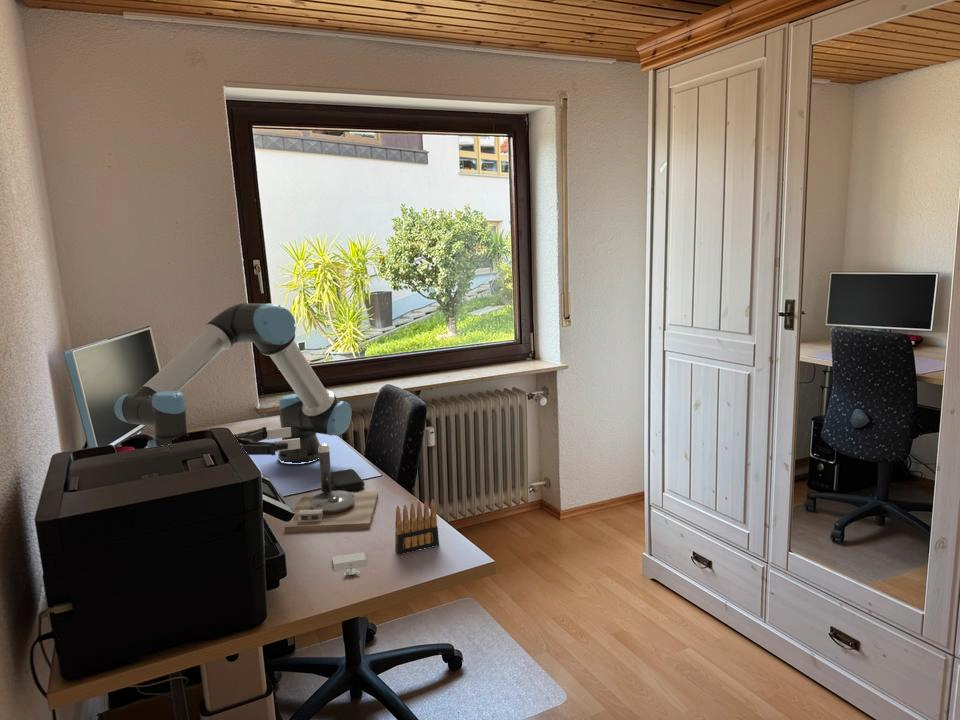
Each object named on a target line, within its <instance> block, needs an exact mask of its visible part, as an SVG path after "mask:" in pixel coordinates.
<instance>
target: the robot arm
mask: <svg viewBox="0 0 960 720" xmlns="http://www.w3.org/2000/svg"><path fill="white" fill-rule="evenodd" d="M295 319H296V318H295V317H294V315H293V313H292V312H291V311H290V310H289V309H288V308H287V307H286V306H284V305H280V304H276V303H271V302H270V303H269V302H268V303H250V302H249V303H247V302H240V303H236V304H234V305H232V306H228V308H226V309H224V310H223V311H221V312H220V313H218V314H216V315H215V316H214V317H213V318H212V319H211V320H209V321H208V322H207V323H206V324H205V325H204V326H203V327H202V332H201V334H199V335H198V336H197V337H196V338H194V340H193V341H191V342H190V343H189V344H188V345H187V346H186V347H185V348H184V349H182V350H181V351H180V352H179V353H177V355H176V356H175V357H173V358H172V359H171V360H170V361H169V362H168V363H167V364H165V366H164V367H162V368H161V369H160V370H159V371H158V372H157V373H156V374H155V375H153V377H151V378H150V379H148V381H147V382H146V383H145V384H143V385H142V386H141V387H140V388H139V389H138V390H137V391H136V392H134V393H128V394H124V395H121V396H120V397H118V399H117V400H116V402H115V404H114V407H113V408H114V409H113V410H114V414H115V416H116V418H117V419H118V420H120V421H121V422H125V423H128V424H131V425H141V426H146V427H147V426H148V427H153V428H154V438H153V439H150V440H148V442H147V449H148V448H149V447H154V446H161V445H168V444H171V443H172V440H173V441H174V440H175V439H178V438H179V437H181V436H183V435H185V434H187V435H188V426H187V405H186V403H185V402H186V400H185V395H184V393H183V392H181V390H182V389H183V388H184V387H185V386H186V385H188V383H189V382H190V381H192V379H194V378H195V377H196V376H197V375H198V374H199V373H200V372H202V370H203V369H204V368H206V367H207V365H209V364H210V363H211V362H212V361H213V360H214V359H215V358H216V357H217V356H218V355H219V354H220V353H221V352H222V351H228V350H229V349H230V348H231V347H233V346H234V345H236V344H239V343H241V342H242V343H243V342H244V343H253V344H254V345H255V346H256V348H257V349H258V350H259V352H260V353H261V354H262V355H264V356H269V358H270V359H271V360H272V362H273V363H274V365H275V366H276V367H277V369H278V370H279V371H280V373H281V374H282V376H283V377H284V379H285V380H286V382H287V383H288V385H289V386H290V387H291V389H292V390H293V392H294V393H292V394H289V395H288V394H287V395H285V396H282V397H281V398H280V399H279V402H278V405H279V408H278V411H279V419H280V420H279V422H280V427H279V428H272V429H267V427H266V426H262V427H261V428H257V429H253V430H248V431H245V432H239V433H234V434H233V435H234V436H235V438H236V439H237V440H238V442H239V443H240V444H241V446H242V447H243V449H244V450H245V451H246V452H247V454H248V455H247V456H252V455H253V456H258V455H259V456H264V455H265V456H276V453H277V452H278V454H277V455H278V456H277V457H278V458H279V459H280V460H281V461H284V462H292V463H301V462H309V461H313V460H316V459H318V458H319V451H318V448H319V446H320V445H321V444H320V441H319V438H318V436H317V434H322V435H327V436H330V437H331V436H335V437H336V436H341V435H342V434H344V433H346V430H347V429H348V428H349V426H350V423H351V421H352V408H351V406H350V404H349V402H347V401H344V400H339V399H338V397H337V396H336V395H335V393H334V392H333V391H332V390H330V389H326V388H325V386H324V384H323V383H322V382H321V380H320V378H319V377H318V376H317V374H316V372H315V371H314V370H313V368H312V367H311V364H310V363H309V362H308V360H307V359H306V357H305V356H304V354H303V352H302V351H301V349H300V347H299V346H298V344H297V343H296V342H295V339H296V326H295V325H296V320H295ZM176 437H177V438H176ZM266 439H267V440H274V441H273V442H270V441H269V442H268V441H263V440H266ZM276 439H281V440H276Z"/></svg>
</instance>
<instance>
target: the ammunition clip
mask: <svg viewBox="0 0 960 720" xmlns="http://www.w3.org/2000/svg"><path fill="white" fill-rule="evenodd" d="M402 508H403V509H402V513H401V509H400V506H399V505H397V506H396V510H395V523H394V524H395V536H394V539H395V540H394V541H395V543H394V544H395V548H394V549H395V550H394V551H395V553H397V554H396V555H397V556H400V555H399V554H401V555H404V554H403V553H406V554H408V553H407V552H410V553H413V552H412V551H415V552H417V551H416V550H419V549H423V550H425V549H424V548H428V547H432V546H436V545H439V546H440V538H439V528H438V519H437V511H436V510H437V509H436V503H435V501H434V498H432V499H431V502H430V508H429V503H428V502H427V500H425V501H424V504H423V508H422V505H421V502H420V501H418V502H417V505H416V508H415V505H414V503H413V502H411V504H410V507H409V509H410V510H409V511H408V508H407V505H406V504H404V505H403V507H402ZM415 509H416V511H415ZM429 509H430V510H429ZM432 548H433V547H432ZM428 549H429V548H428ZM419 551H420V550H419Z"/></svg>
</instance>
